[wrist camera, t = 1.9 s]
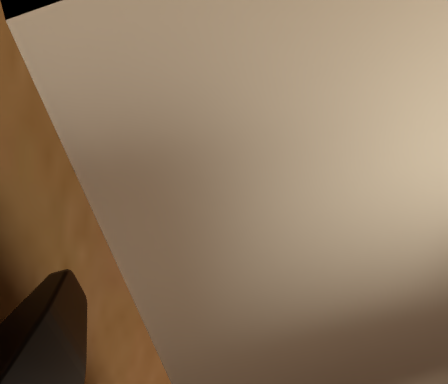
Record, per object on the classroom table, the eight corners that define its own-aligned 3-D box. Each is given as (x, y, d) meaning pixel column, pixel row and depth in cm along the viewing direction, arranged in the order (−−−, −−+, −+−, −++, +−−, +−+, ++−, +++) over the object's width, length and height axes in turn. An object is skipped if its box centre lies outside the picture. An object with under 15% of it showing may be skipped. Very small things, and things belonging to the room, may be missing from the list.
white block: (330, 322, 13) (445, 540, 8) (222, 352, 13) (268, 597, 8) (305, -94, 7) (733, -308, 2) (97, -49, 7) (-71, -148, 2)
